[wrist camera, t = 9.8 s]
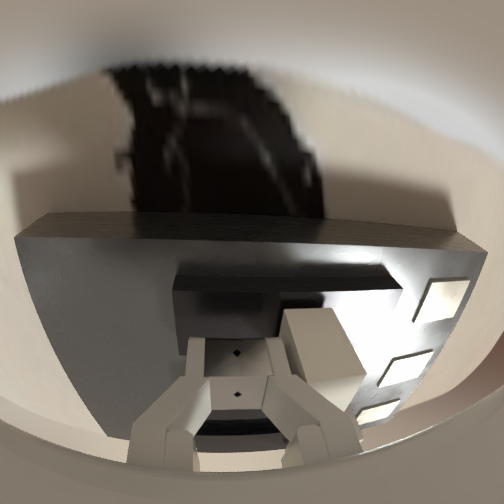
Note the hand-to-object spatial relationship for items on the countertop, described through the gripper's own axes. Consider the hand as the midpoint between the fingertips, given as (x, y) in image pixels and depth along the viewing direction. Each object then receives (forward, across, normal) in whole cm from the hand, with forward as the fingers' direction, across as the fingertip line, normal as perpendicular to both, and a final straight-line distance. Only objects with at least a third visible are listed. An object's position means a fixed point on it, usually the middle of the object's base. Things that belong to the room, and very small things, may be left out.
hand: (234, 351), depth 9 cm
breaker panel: (+5, +2, -6) cm, 8 cm away
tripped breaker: (+1, +3, 0) cm, 3 cm away
